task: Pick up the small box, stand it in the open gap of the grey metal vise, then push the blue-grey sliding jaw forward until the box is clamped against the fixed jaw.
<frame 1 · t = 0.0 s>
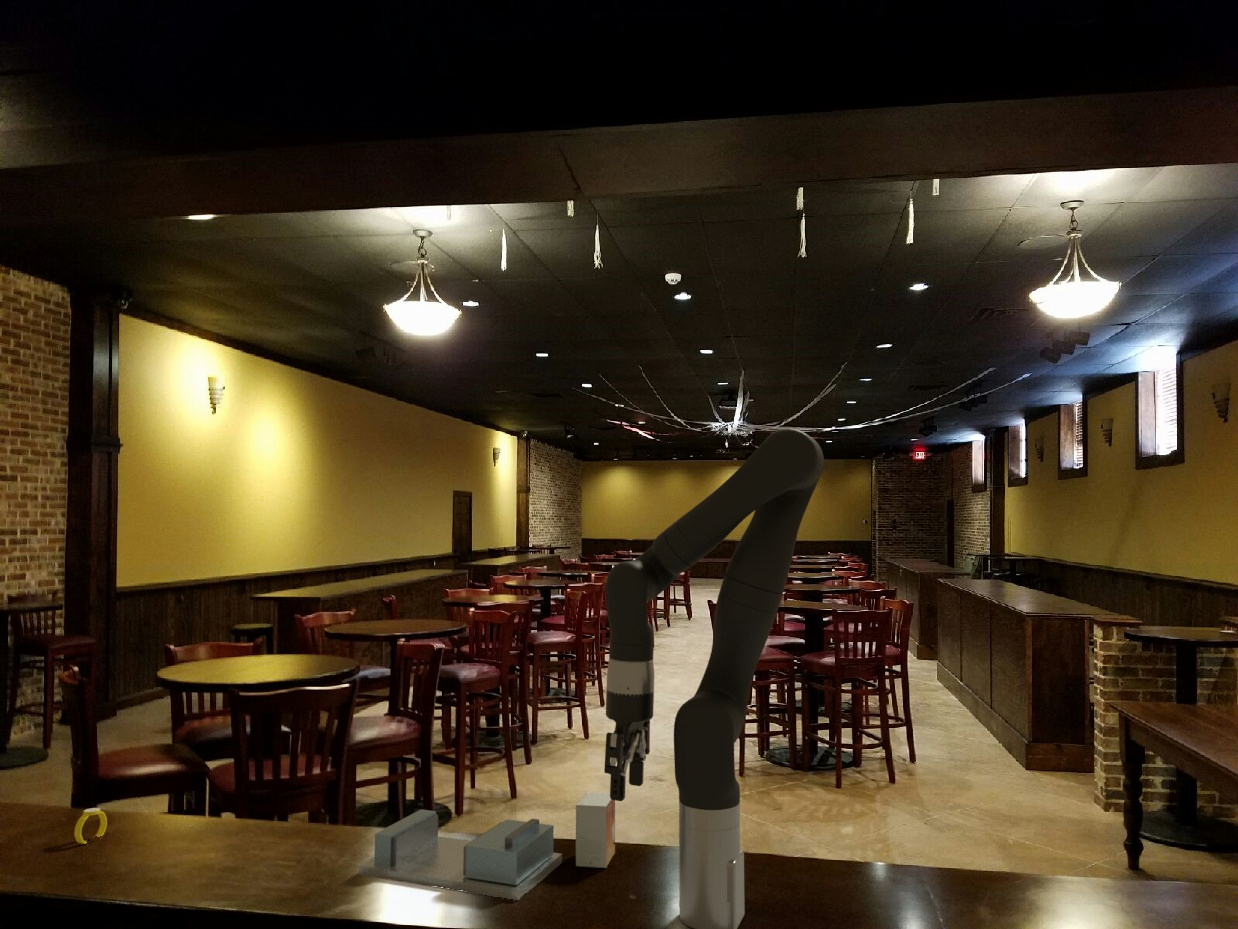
hand: (626, 792, 137), 17 cm above the worktop, tool pointing down, fingers open, 8 cm apart
vise base: (467, 869, 151), on the worktop
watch: (90, 843, 164), on the worktop
small box: (595, 861, 155), on the worktop
sliding jaw: (509, 846, 148), point 5 cm above the worktop, slide at 0.0 cm
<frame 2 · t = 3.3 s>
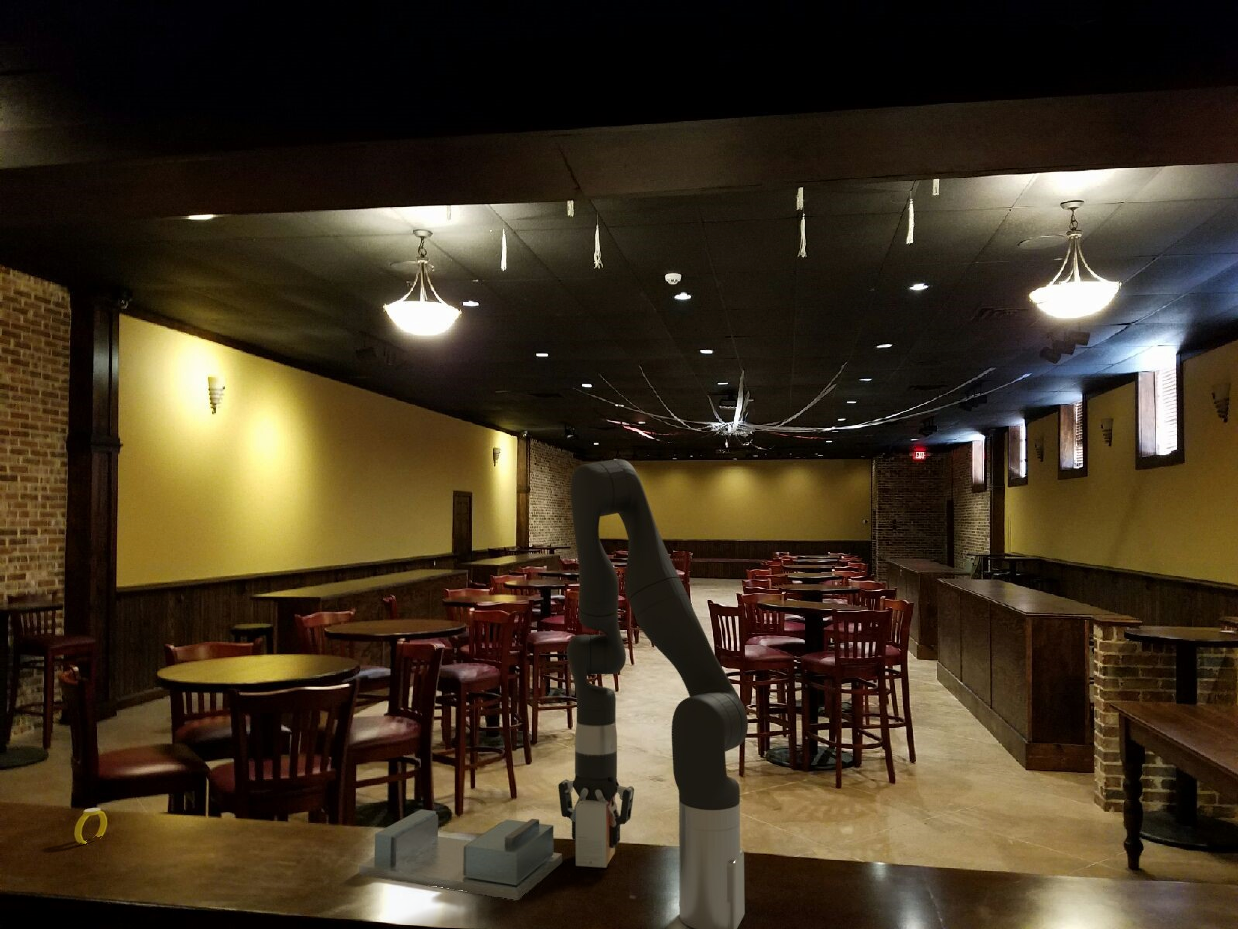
hand: (595, 844, 155), 3 cm above the worktop, tool pointing down, fingers closed on small box, 6 cm apart
small box: (595, 860, 155), on the worktop, touching gripper
everything else where it was.
when the fingers open (5 cm above the worktop, at t = 9.6 s): small box stays where it is, resting on vise base.
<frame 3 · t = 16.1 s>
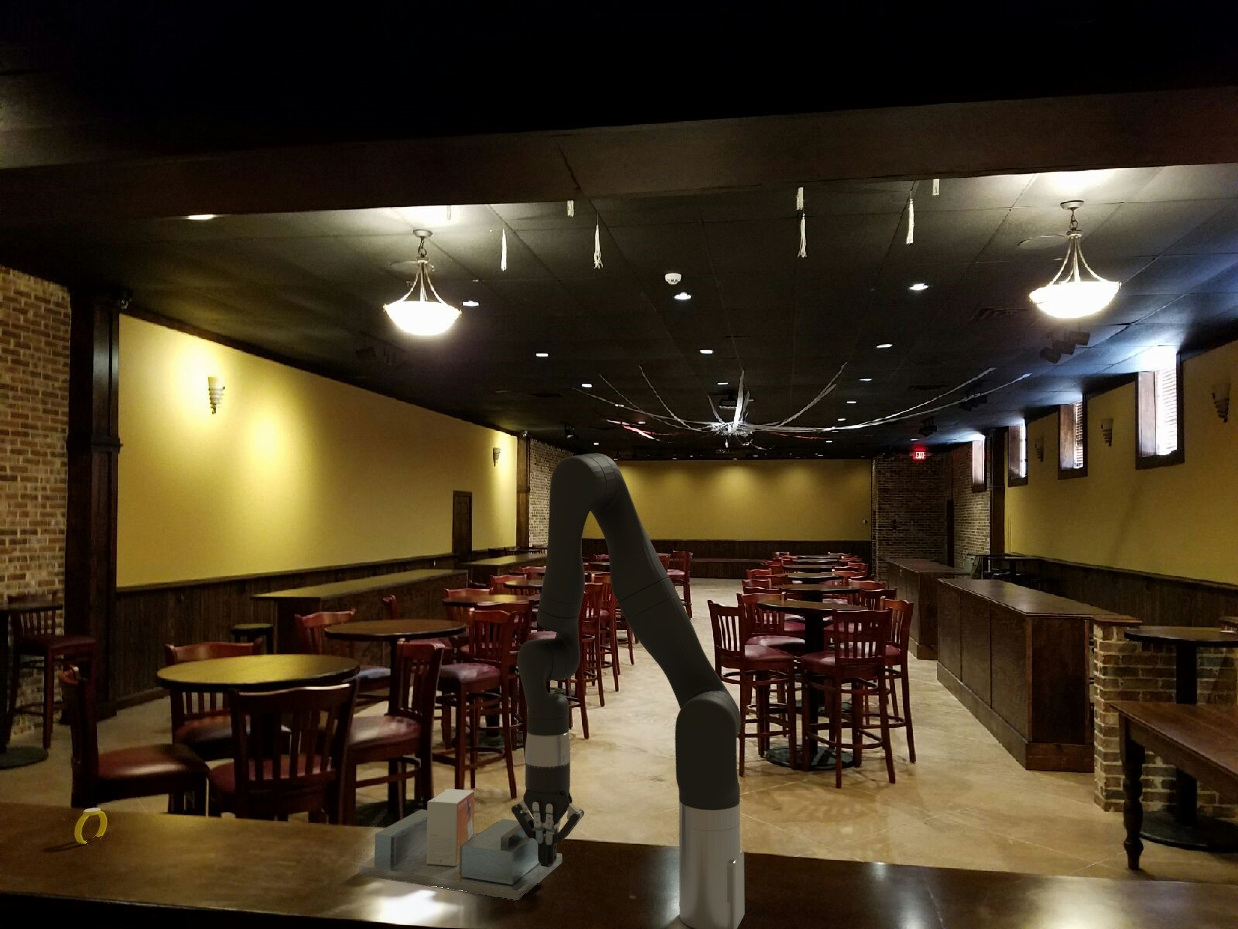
hand: (547, 865, 146), 3 cm above the worktop, tool pointing down, fingers closed
small box: (450, 859, 152), point 1 cm above the worktop, touching vise base
sliding jaw: (505, 845, 149), point 5 cm above the worktop, slide at 0.7 cm, touching gripper
everything else where it was.
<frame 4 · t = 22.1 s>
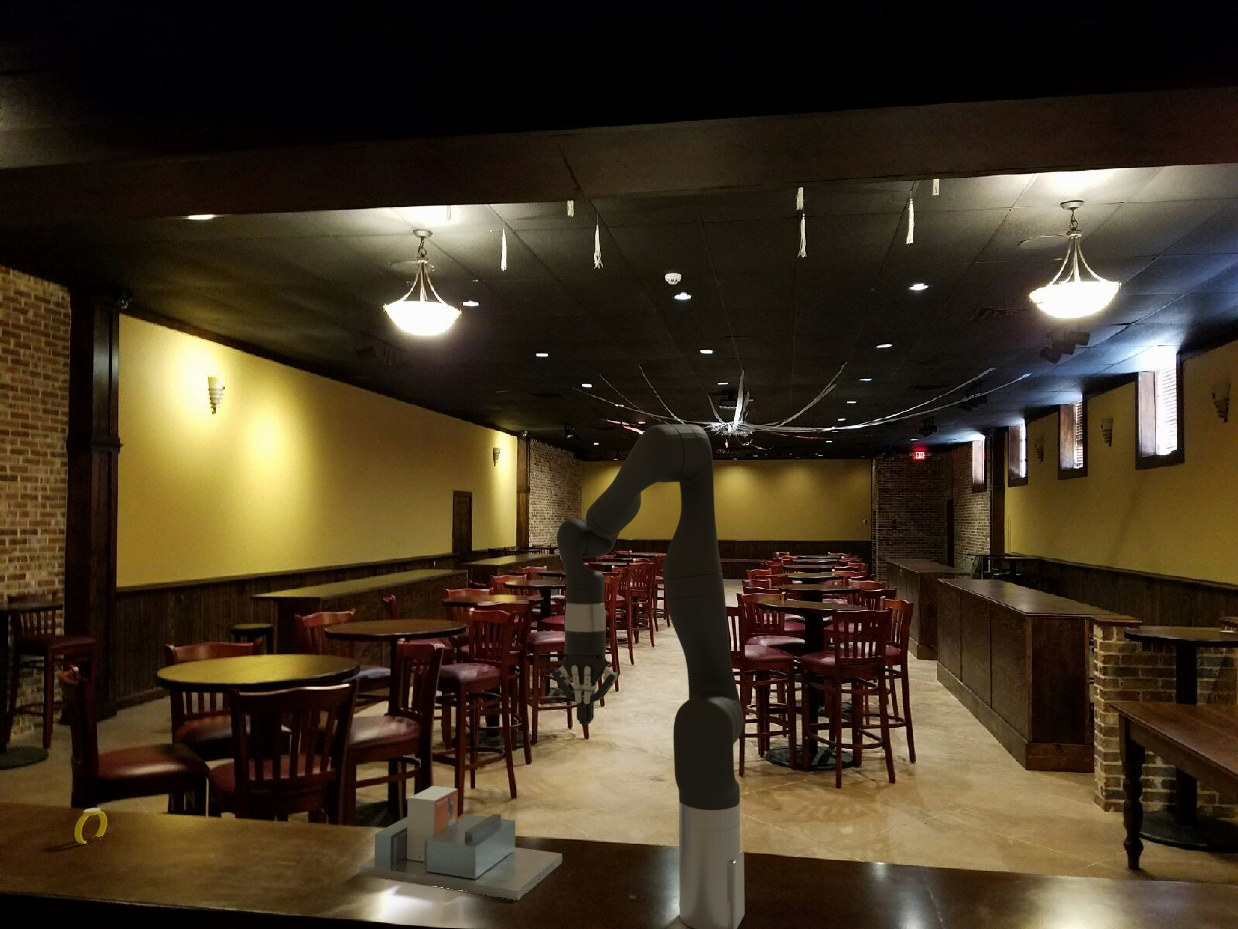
hand: (585, 723, 160), 23 cm above the worktop, tool pointing down, fingers closed
small box: (432, 855, 154), point 1 cm above the worktop, touching vise base
sliding jaw: (470, 840, 151), point 5 cm above the worktop, slide at 7.4 cm
everything else where it was.
at the end: sliding jaw slide at 7.4 cm; small box 0.4 cm from the target spot on the vise base, point 1.3 cm above the vise base's base; small box tilted 0° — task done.
